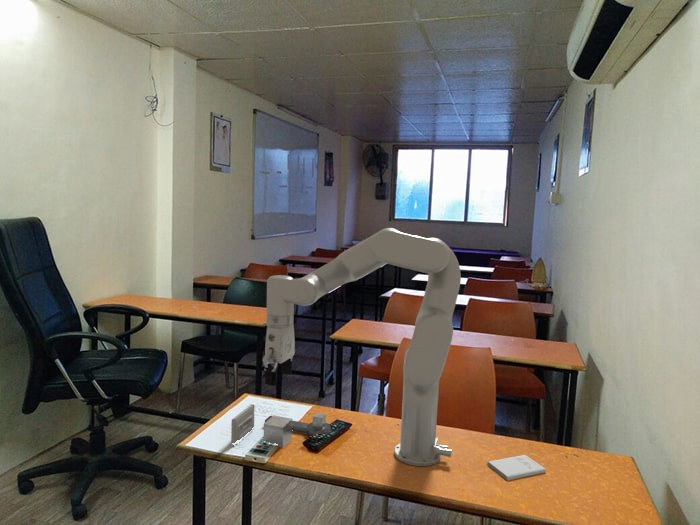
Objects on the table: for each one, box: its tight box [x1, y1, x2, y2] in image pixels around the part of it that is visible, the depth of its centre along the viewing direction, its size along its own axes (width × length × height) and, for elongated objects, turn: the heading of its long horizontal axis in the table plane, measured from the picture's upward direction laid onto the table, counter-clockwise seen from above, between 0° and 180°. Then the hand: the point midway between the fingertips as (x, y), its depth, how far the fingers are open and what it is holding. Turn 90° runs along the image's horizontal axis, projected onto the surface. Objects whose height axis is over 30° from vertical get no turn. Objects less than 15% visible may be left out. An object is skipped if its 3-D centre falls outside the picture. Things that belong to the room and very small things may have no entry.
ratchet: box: [264, 412, 332, 437], centre depth 149 cm, size 20×7×6 cm, turn 72°
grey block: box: [263, 415, 293, 449], centre depth 141 cm, size 6×6×6 cm
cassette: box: [230, 404, 255, 444], centre depth 143 cm, size 12×2×8 cm, turn 163°
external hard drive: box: [486, 454, 547, 481], centre depth 131 cm, size 2×8×12 cm
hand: (278, 379), depth 140 cm, fingers open, 9 cm apart
